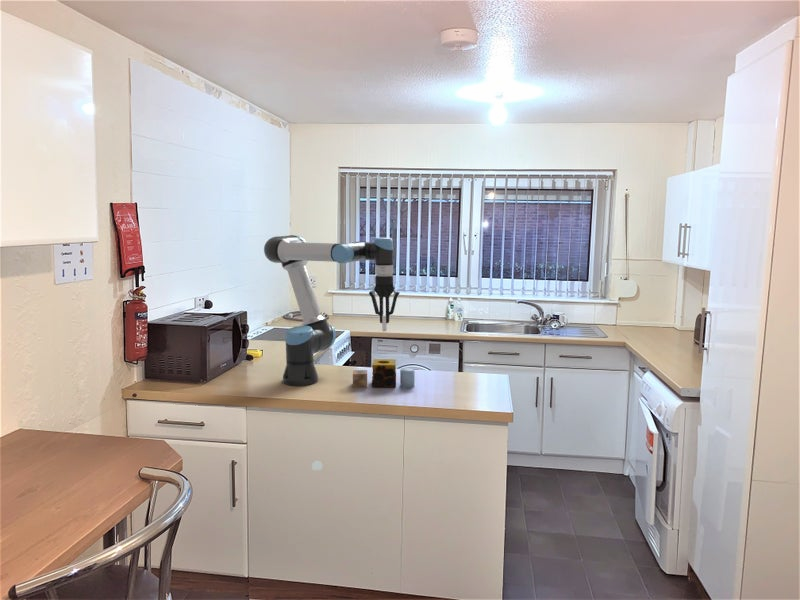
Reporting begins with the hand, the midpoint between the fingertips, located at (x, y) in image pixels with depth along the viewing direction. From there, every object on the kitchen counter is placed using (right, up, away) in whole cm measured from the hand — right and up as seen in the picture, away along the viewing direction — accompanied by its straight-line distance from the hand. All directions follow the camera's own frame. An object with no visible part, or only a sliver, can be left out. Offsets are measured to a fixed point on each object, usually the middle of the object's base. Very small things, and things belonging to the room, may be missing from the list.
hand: (384, 330), depth 252 cm
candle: (0, -23, +4) cm, 24 cm away
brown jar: (-11, -24, +2) cm, 26 cm away
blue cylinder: (+10, -24, +2) cm, 26 cm away
